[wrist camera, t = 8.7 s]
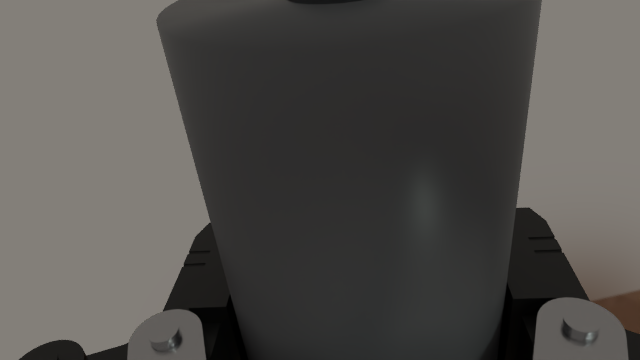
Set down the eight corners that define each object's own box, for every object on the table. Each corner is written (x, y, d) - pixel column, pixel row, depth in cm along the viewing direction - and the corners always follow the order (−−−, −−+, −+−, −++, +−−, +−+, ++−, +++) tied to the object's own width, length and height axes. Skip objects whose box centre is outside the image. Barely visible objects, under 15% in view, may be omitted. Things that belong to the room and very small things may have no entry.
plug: (361, 415, 18) (295, -238, 8) (501, 505, 15) (645, -346, 5) (264, 547, 14) (-25, -275, 5) (418, 694, 11) (412, -588, 2)
